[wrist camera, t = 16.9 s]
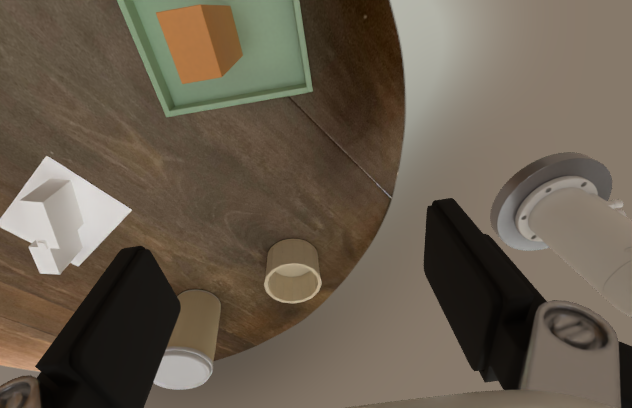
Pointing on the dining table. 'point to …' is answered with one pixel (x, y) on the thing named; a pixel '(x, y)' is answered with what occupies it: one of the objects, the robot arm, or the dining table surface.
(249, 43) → the tray
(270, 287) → the cup
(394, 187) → the dining table surface
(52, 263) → the napkin holder
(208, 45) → the orange rectangular bar
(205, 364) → the coffee cup
